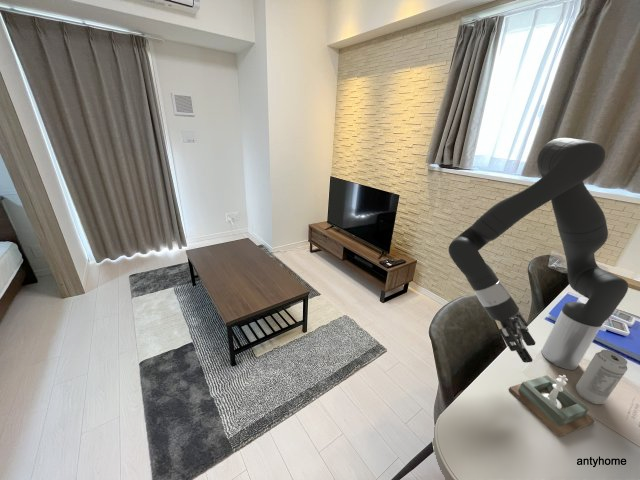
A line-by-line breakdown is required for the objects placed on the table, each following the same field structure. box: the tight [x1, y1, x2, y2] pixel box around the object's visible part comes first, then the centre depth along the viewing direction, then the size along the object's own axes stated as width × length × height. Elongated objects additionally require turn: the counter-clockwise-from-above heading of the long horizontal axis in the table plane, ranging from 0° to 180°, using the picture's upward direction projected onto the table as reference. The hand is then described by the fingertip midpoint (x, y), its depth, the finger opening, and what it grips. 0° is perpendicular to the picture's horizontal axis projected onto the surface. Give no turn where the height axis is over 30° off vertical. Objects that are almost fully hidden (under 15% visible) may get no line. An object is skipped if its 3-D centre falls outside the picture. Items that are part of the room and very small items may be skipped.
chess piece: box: [541, 374, 569, 410], centre depth 68 cm, size 5×5×10 cm
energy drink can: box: [575, 349, 628, 405], centre depth 71 cm, size 6×6×15 cm
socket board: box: [508, 374, 595, 438], centre depth 69 cm, size 13×13×4 cm
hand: (530, 352), depth 70 cm, fingers open, 8 cm apart
